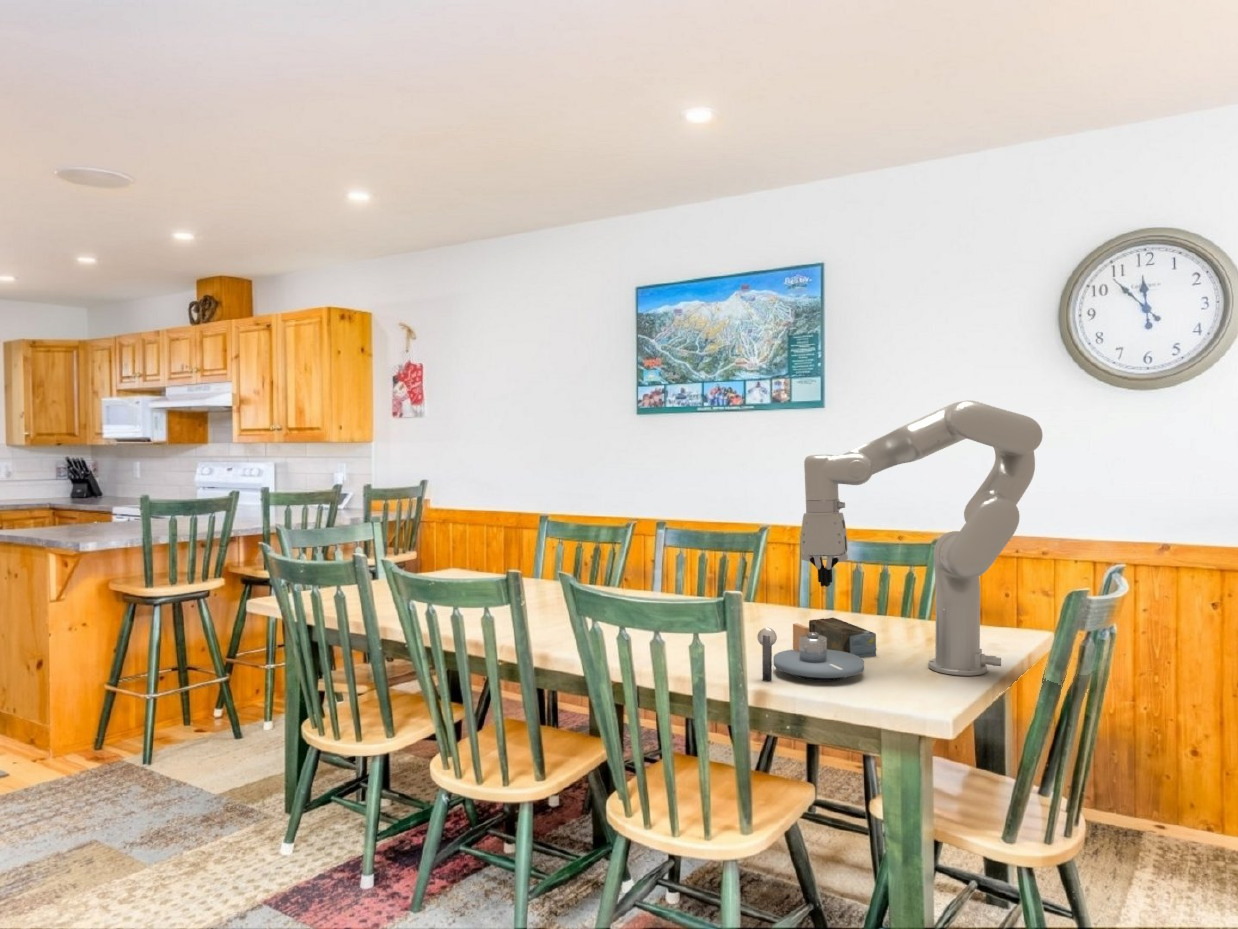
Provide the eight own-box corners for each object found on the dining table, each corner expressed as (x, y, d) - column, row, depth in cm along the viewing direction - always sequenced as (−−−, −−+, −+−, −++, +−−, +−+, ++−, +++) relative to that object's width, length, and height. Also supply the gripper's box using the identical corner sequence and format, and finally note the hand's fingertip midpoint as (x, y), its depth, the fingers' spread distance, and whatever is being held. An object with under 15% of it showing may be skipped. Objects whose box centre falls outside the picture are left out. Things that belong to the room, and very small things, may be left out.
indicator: (777, 680, 190) (777, 628, 190) (774, 682, 189) (774, 630, 188) (759, 678, 192) (759, 626, 192) (756, 680, 190) (756, 628, 190)
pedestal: (850, 670, 198) (850, 663, 198) (839, 683, 187) (839, 676, 187) (798, 664, 204) (798, 658, 203) (785, 677, 193) (785, 670, 193)
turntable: (832, 651, 208) (832, 620, 208) (882, 673, 189) (882, 639, 189) (757, 658, 202) (757, 626, 202) (801, 681, 183) (801, 646, 183)
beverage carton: (849, 660, 208) (849, 633, 208) (807, 643, 227) (807, 618, 226) (877, 657, 211) (877, 630, 211) (833, 640, 229) (833, 615, 229)
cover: (816, 655, 199) (816, 629, 199) (832, 661, 193) (832, 634, 193) (794, 657, 197) (794, 631, 197) (809, 664, 191) (809, 637, 191)
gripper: (858, 505, 202) (861, 584, 203) (794, 506, 209) (797, 582, 209) (851, 508, 195) (854, 589, 196) (786, 509, 202) (789, 587, 202)
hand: (825, 585), depth 203 cm, fingers closed
